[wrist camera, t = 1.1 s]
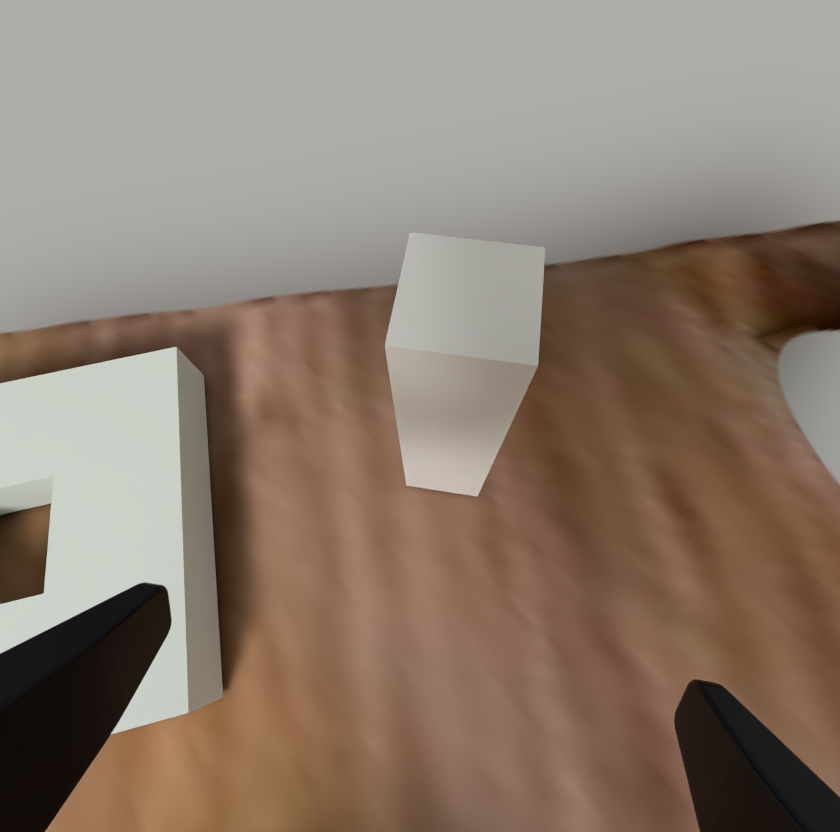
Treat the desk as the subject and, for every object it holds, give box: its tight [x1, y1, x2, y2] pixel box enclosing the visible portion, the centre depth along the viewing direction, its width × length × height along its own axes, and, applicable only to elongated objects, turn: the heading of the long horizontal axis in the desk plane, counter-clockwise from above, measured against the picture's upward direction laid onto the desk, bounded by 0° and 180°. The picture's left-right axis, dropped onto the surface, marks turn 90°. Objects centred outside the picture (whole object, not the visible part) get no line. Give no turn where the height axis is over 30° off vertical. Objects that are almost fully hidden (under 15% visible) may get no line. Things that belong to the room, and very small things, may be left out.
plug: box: [385, 232, 545, 496], centre depth 17 cm, size 4×4×13 cm
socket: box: [0, 347, 223, 734], centre depth 20 cm, size 16×16×3 cm
